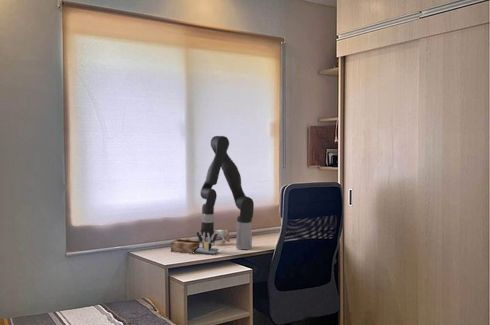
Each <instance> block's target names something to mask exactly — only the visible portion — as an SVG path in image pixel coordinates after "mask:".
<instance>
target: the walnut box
mask: <svg viewBox="0 0 490 325" xmlns="http://www.w3.org/2000/svg"><path fill="white" fill-rule="evenodd" d="M200 244H201V243H200V241H199V239H197V238H196V239H194V238H185V237H183V238H182V237H178V238H176V239H174V240H173V241H171V242H170V253H177V252H180V253H179V254H186V253H193V252H195V251H196V250H197V249H198V248H199V247H200ZM195 253H196V252H195ZM193 254H194V253H193Z"/></svg>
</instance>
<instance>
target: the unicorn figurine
mask: <svg viewBox="0 0 490 325" xmlns="http://www.w3.org/2000/svg"><path fill="white" fill-rule="evenodd" d="M214 232H215V233H216V234H217V233H218V236H217V238H218V237H221V238H222V240H221V241H220V246H222V245H224V244H226V242H227V243H230V242H231V240H230V233H229V231H228V229H225V230H224V229H218V230H217V229H214ZM213 238H214V234H213V235H212V240H213ZM207 241H209V240H208V239H207ZM215 243H216V241H215V242H213V243H212V246H214V245H216V244H215Z"/></svg>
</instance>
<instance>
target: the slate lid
mask: <svg viewBox="0 0 490 325" xmlns="http://www.w3.org/2000/svg"><path fill="white" fill-rule="evenodd" d="M218 251H219V248H214V247H211V249H210V250H209V241H208V240H206V241H205V242H204V249H203V246H199V248H198V249H197V250H196V251H195V253H203V254H204V253H205V254H210V255H211V254H213V255H215V254H216V253H217V252H218Z"/></svg>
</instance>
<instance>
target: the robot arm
mask: <svg viewBox="0 0 490 325" xmlns="http://www.w3.org/2000/svg"><path fill="white" fill-rule="evenodd" d="M229 146H230V140H229V138H228V137H227V136H225V135H215V136H213V137H211V139H210V147H211V149H212V151H213V153H214V154H215V155H214V157H213V159H212V162H211V164H210V166H209V167H208V169H207V173H206V178H205V181H204V183H203V185H202V187H201V189H200V194H199V195H200V197H201V199H203V200H206V201H205V203H203V204H202V208H201V220H200V222H201V227H200V228H201V229H200V231H197V232H196V236H197V238H198V240H199V241H200V242H202V247H203V249H204V242H205V241H208V240H209V250H210V249H211V248H213V245H212V243H213V242H215V243H216V240H217V238H218V237H219V236H218V233H217V234H216V233H215V232H214V230H215V227H214V226H215V225H214V224H215V214H214V212H215V204H216V200H217V197H218V196H217V192H216V190H215V189H213V187H214V186H216V185H217V184H218V180H219V176H220V172H221V170H222V174H223V175H224V178H225V179H226V182H227V185H228V187H229V189H230V192H231V193H232V196H233V200H234V204H235V207H236V208H237V209H238V210H240V211H239V216H237V217H236V242H235V243H236V244H235V245H236V247H235V248H236V249H237V248H238V250H240V249H250V248H251V247H252V246H253V244H252V243H253V233H252V221H253V217H254V206H255V204H254V201H253V199H252V198H251V197H249V196H246V194H245V192H244V190H243V187H242V177H241V173H240V171H239V168H238V166H237V165H236V163H235V162H234V160H232V158H231V157H230V155H229V154H228V150H229ZM213 234H214V237H213V240H212V235H213ZM217 236H218V237H217ZM251 249H252V248H251ZM251 249H250V250H251Z"/></svg>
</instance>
